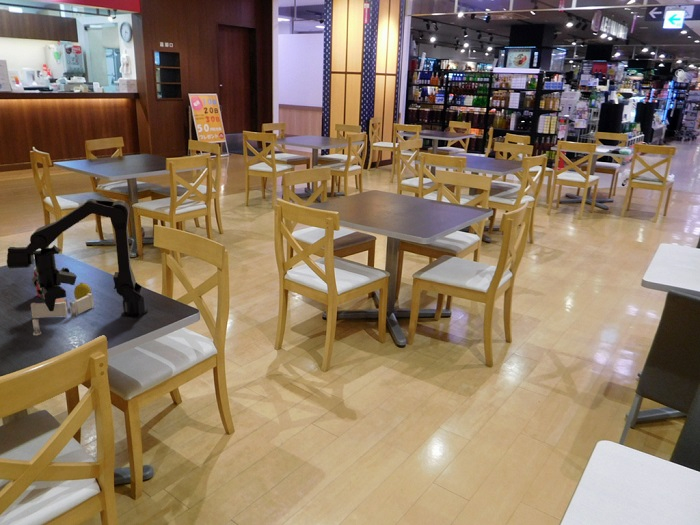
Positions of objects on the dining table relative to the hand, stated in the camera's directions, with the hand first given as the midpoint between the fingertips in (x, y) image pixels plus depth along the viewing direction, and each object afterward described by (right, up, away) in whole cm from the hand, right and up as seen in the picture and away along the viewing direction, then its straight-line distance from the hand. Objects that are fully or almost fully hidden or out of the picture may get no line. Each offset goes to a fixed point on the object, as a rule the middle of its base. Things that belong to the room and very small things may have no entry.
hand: (51, 310), depth 182 cm
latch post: (0, -6, -9) cm, 11 cm away
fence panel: (+7, -1, +9) cm, 11 cm away
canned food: (-12, +4, +21) cm, 24 cm away
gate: (-2, -2, +2) cm, 4 cm away
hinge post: (+5, -2, +4) cm, 7 cm away
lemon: (+4, +1, +15) cm, 15 cm away
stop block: (-2, 0, +10) cm, 10 cm away
